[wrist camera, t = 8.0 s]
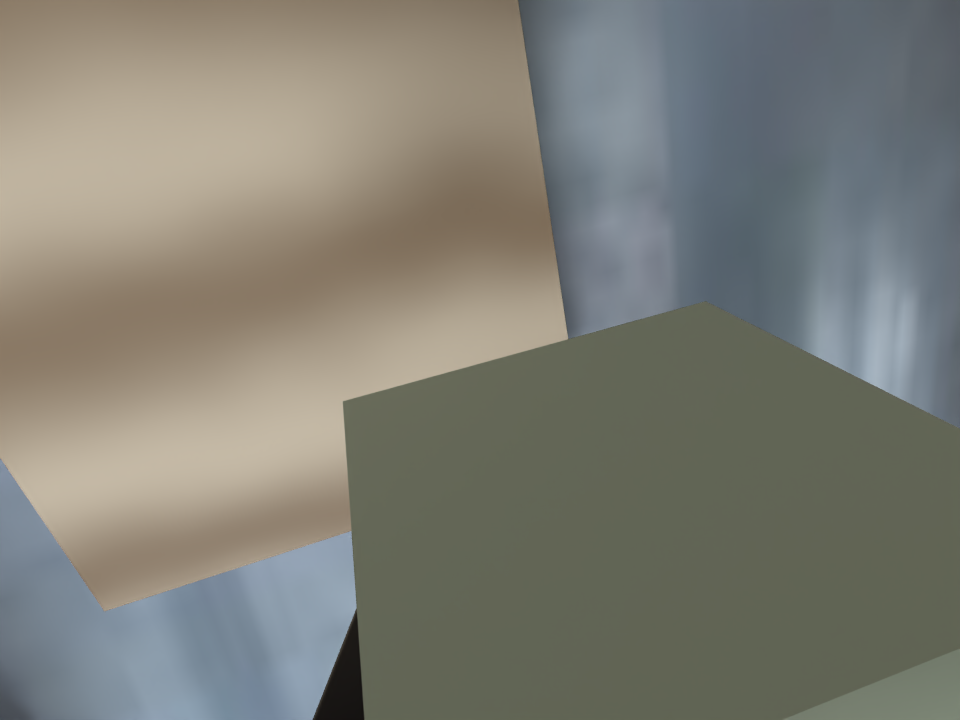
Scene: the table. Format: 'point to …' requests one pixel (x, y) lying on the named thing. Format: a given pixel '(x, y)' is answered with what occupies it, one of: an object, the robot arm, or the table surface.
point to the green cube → (655, 535)
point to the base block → (248, 257)
